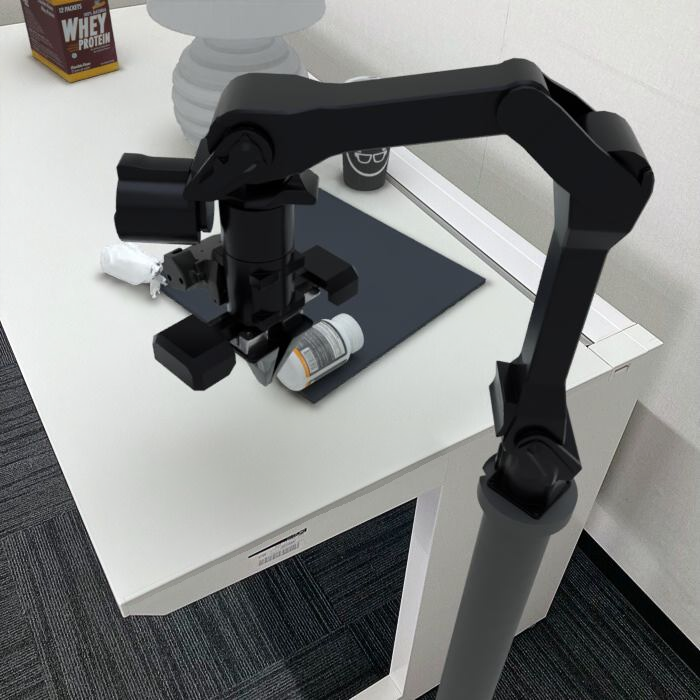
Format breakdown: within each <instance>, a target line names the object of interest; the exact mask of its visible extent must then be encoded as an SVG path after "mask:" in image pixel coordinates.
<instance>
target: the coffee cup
mask: <svg viewBox="0 0 700 700" xmlns="http://www.w3.org/2000/svg"><path fill="white" fill-rule="evenodd" d="M381 78H382V77H379V76H372V75H362V76H355V77H351V78H349V79H347V80H345V81H344V82H343V83H348V82H356V81H365V80H373V79H381ZM390 153H391V148H383V149H375V150H366V151H357V152H348V153H344V154H341V157H342V158H341V159H342V178H343V182H344V183H345V185H346V186H348V187H349V188H351V189H353V190H357V191H365V192H367V191H368V192H369V191H374V190H378V189H380V188H381V187H383V186H384V184H385V183H386V177H387V172H388V165H389V159H390Z"/></svg>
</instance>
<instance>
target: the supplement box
mask: <svg viewBox="0 0 700 700" xmlns="http://www.w3.org/2000/svg"><path fill="white" fill-rule="evenodd" d="M19 1H20V5H21V10H22V15H23V19H24V24H25V28H26V32H27V37H28V41H29V44H30V45H29V46H30V50H31V54H32V57H33V58H35V59H36V60H38V61H39V62H40V63H42V64H43V65H45V66H46V67H47V68H49V69H50V70H51V71H52V72H54V73H55V74H57V75H58V76H59V77H61V78H63V80H65V81H66V82H68V83H74V82H77V81H82V80H85V79H89V78H93V77H96V76H100V75H103V74H107V73H110V72H114V71H118V70H120V67H119V60H118V59H119V58H118V53H117V47H116V41H115V35H114V30H113V22H112V17H111V9H110V4H109V0H19Z"/></svg>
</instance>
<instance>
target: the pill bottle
mask: <svg viewBox="0 0 700 700" xmlns="http://www.w3.org/2000/svg"><path fill="white" fill-rule="evenodd" d="M363 343H364V337H363V333H362V330H361V328H360V326H359V325H358V323H357V322H356V321H355V320H354V319H353V318H352V317H351V316H349V315H347V314H339V315H337V316H336V317H334V318H332V320H328V319H322V320H319V321H317V322H315V323H313V327H312V329H310V330H309V331H308V332H307V333H306V334H305V335H304V337H303V338H302V339H301V341H300V342H299V344H298V345H297V346H296V348H295V349H294V350H293V352H292V353H291V355H290V356H289V358H288V359H287V360H286V362H285V364H284V365H283V367H282V368H281V370H280V371H279V373H278V374H277V376H276V377H277V378H278V380H279V381H280V382H281V383H282V385H284V387H286V388H288V389H289V390H290V391H294V392H298V391H299V390H302V389H303V388H305V387H307V386H309V385H310V384H312V383H313V382H315V381H317V380H318V379H320V378H322V377H323V376H325V375H327V374H328V373H330V372H332V371H333V370H335V369H336V368H338V367H340V366H341V365H343V364H344V363H346V362H347V360H348V359H349V356H350V354H352V353H354V352H356V351H358V350H359V349H360V348H361V347H362V346H363Z"/></svg>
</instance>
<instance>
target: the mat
mask: <svg viewBox="0 0 700 700" xmlns="http://www.w3.org/2000/svg"><path fill="white" fill-rule="evenodd" d="M294 244H295V250H297V251H298V252H300V253H303V252H305V251H307V250H308V249H310V248H312V247H314V246H316V245H319V246H320V247H322V248H324V249H325V250H327V251H329V252H330V253H332V254H334V255H335V256H337V257H339V258H341V259H342V260H344V261H346V262H347V263H349V264H351V265H352V266H354V268H355V269H356V271H357V273H358V276H359V283H358V294H357V295H356V296H354V297H352V298H351V299H349V300H348V301H346V302H345V303H343V304H341V305H340V306H336V305H334V304H332V303H331V302H329V301H328V292H327V291H325V290H324V289H322V288H318V289H319V290H320V294H319V295H318V296H316V297H315V298H313V299H311V300H310V301H308V302H306V303H305V306H303V307H302V309H303V314H304V315H306V316H307V317H309V318H310V319H312V320H313V323H315V322H317V321H319V320H322V319H328V320H332V318H334V317H336V316H337V315H339V314H347V315H349V316H351V317H352V318H353V319H354V320H355V321H356V322H357V323H358V325H359V326H360V328H361V330H362V333H363V337H364V343H363V346H362V347H361V348H360V349H359V350H358V351H356V352H354V353H352V354H350V356H349V359H348V360H347V362H346V363H344V364H343V365H341V366H340V367H338V368H336V369H335V370H333V371H332V372H330V373H328V374H327V375H325V376H323V377H322V378H320V379H318V380H317V381H315V382H313V383H312V384H310V385H309V386H307V387H305V388H303V389H302V390H299V391H297V392H298V393H299V394H301V396H303V397H304V398H306V399H307V400H308V401H310V402H311V403H313V404H316V403H317V402H319V401H321V400H322V399H323V398H325V397H326V396H327V395H329V394H330V393H332V392H333V391H334V390H335V389H337V388H339V387H340V386H341V385H342V384H344V383H346V382H347V381H348V380H349V379H352V378H353V377H354V376H355V375H357V374H358V373H359V372H361V371H362V370H364V369H366V368H367V367H368V366H370V365H371V364H373V363H374V362H375V361H376V360H378V359H379V358H380V357H382V356H384V355H385V354H386V353H388V352H389V351H391V350H392V349H393V348H395V347H397V345H399V344H401V343H402V342H404V341H405V340H406V339H408V338H409V337H410V336H412V335H413V334H415V333H416V332H417V331H419V330H420V329H422V328H423V327H424V326H426V325H428V324H430V322H431V321H433V320H434V319H436V318H437V317H439V316H440V315H441V314H443V313H445V312H446V311H447V310H448V309H450V308H452V307H453V306H454V305H456V304H457V303H459V302H460V301H461V300H462V299H464V298H465V297H467V296H468V295H470V294H471V293H473V292H474V291H475V290H477V289H478V288H479V287H481V286H482V285H484V284H485V283H487V282H486V281H487V278H485V277H483V276H482V275H480V274H478V273H477V272H474V271H473V270H471V269H469V268H467V267H465V266H464V265H462V264H460V263H458V262H457V261H454V260H452V259H450V258H449V257H447V256H445V255H443V254H441V253H439V252H437V251H436V250H434V249H432V248H430V247H428V246H427V245H425V244H424V243H422V242H419V241H418V240H416V239H414V238H412V237H411V236H409V235H407V234H405V233H403V232H401V231H399V230H398V229H396V228H394V227H392V226H390V225H388V224H386V223H384V222H383V221H381V220H379V219H377V218H376V217H373V216H372V215H370V214H368V213H366V212H365V211H362V210H361V209H359V208H357V207H355V206H353V204H352V205H351V204H350V203H348V202H347V201H344V200H342V199H341V198H339V197H337V196H335V195H333V194H332V193H330V192H328V191H326V190H324V189H322V188H320V187H318V196H317V202H316V204H315V205H312V206H310V205H294ZM161 265H162V266H163V270H162V272H161V273H160V275H161V276H163V277H164V278H165V279H166V281H165V283H166V284H167V285H164V284H161V283H160V289H159V291H160V292H162V293H164V295H166V296H168V297H169V298H170V299H172V300H173V301H174V302H176V303H177V304H178V305H180V306H182V307H183V309H185V310H187V311H188V312H189V313H191V314H193V315H195V316H196V317H198V318H199V319H200V320H202V321H203V322H204V323H207V322H209V321H211V320H213V319H214V318H216V317H218V316H220V315H221V314H223V313H225V312H227V311H228V308H227V306H226V305H224V304H223V305H221V306H218V305H216V304H215V303H214V302H212V301H211V300H210V293H209V291H208V290H204V289H200V288H197V287H195V288H191V289H190V290H188V291H183V290H179V289H176V288H173V287H172V286H171V285H170V284H169V282H168V280H167V277H166V274H165V271H164V261H163V262H161Z"/></svg>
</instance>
